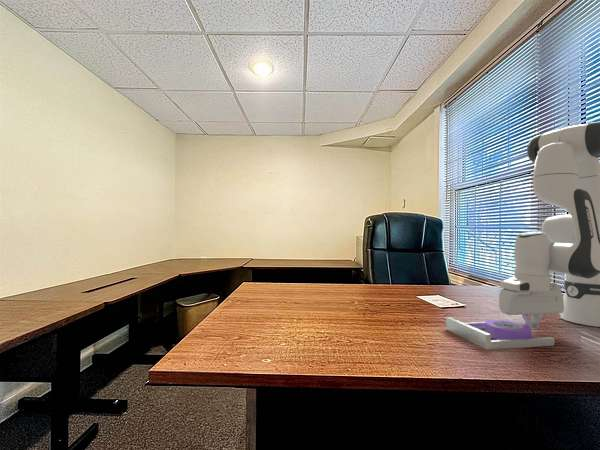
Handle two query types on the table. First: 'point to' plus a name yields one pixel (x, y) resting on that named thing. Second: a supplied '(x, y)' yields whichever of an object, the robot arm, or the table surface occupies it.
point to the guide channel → (484, 339)
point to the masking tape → (507, 330)
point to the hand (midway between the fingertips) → (532, 328)
